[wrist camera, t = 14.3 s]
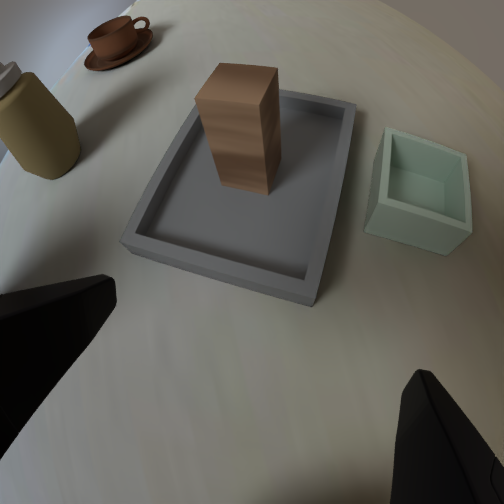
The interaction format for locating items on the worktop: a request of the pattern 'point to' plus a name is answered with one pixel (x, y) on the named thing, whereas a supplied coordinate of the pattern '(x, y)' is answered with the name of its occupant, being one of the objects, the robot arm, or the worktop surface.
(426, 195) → the mint green open box
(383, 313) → the worktop surface
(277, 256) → the tray
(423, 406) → the robot arm
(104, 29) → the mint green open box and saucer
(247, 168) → the square block
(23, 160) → the squeeze bottle
